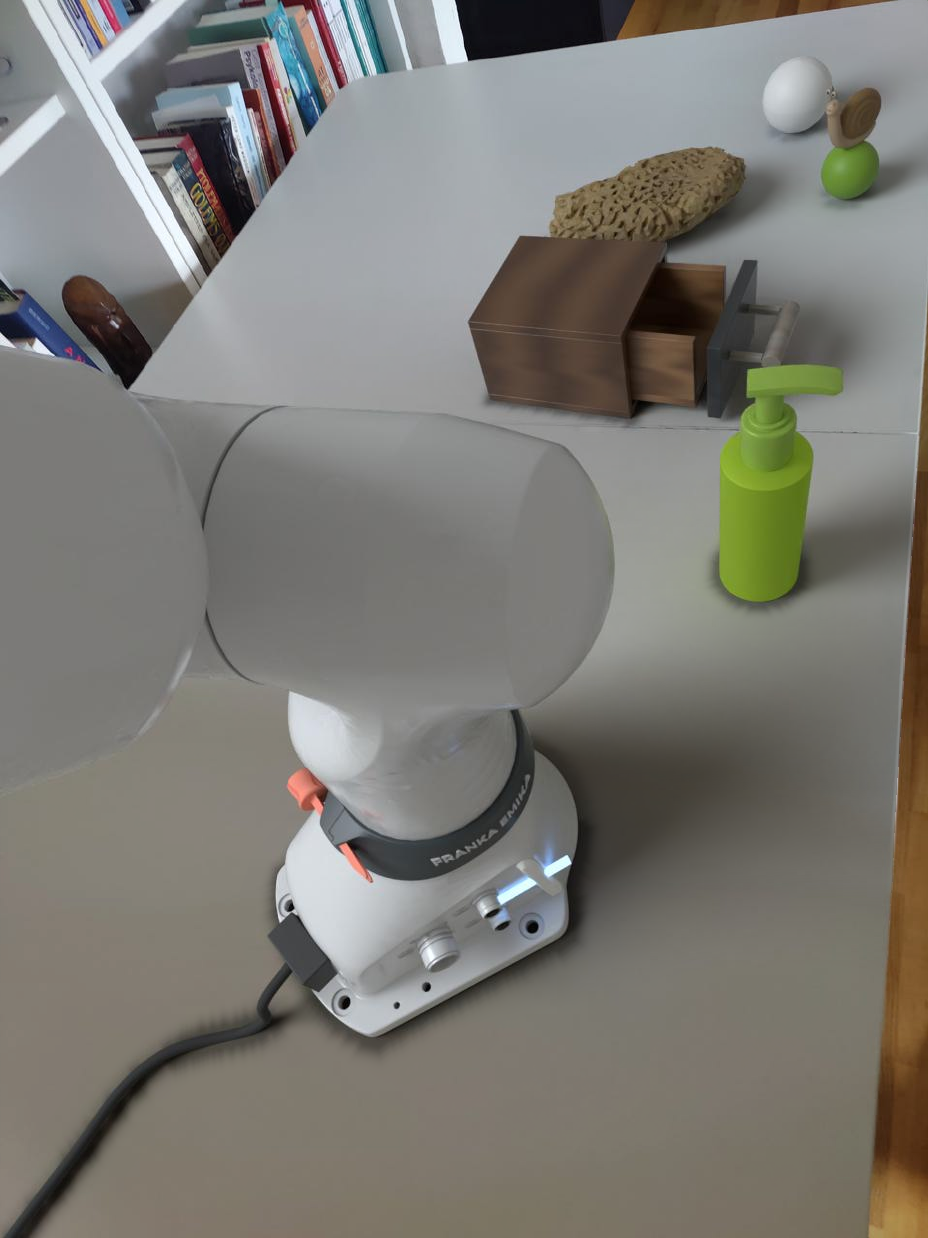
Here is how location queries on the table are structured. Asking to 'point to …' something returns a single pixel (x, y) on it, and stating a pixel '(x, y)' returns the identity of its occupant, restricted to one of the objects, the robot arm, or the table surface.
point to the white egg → (797, 94)
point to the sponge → (651, 197)
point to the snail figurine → (851, 144)
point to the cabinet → (564, 322)
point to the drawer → (700, 334)
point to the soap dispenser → (768, 483)
